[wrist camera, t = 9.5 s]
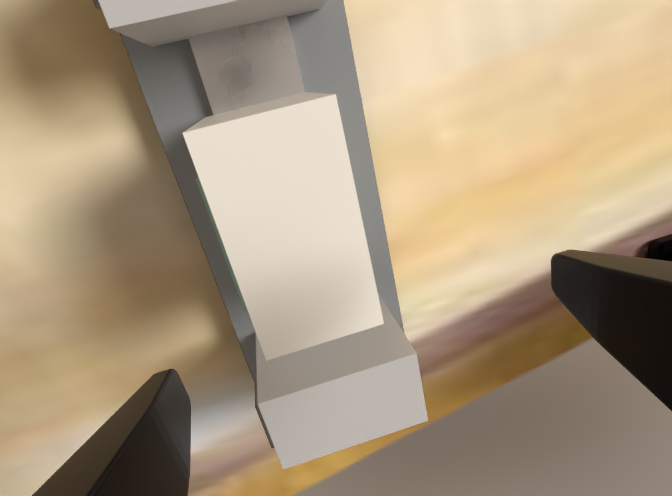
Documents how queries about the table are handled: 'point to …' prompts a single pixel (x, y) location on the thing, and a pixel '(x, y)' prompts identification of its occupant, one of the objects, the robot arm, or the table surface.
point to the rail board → (171, 121)
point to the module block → (288, 219)
